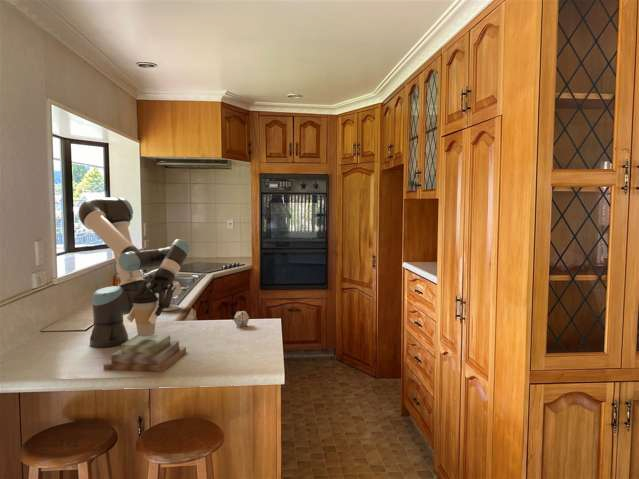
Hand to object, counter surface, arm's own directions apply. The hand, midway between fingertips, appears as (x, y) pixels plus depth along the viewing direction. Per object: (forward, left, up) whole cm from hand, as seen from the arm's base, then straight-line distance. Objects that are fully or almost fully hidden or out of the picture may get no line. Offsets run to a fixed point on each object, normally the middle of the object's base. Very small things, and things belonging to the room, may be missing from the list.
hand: (140, 321), depth 173 cm
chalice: (-27, +84, -16) cm, 90 cm away
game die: (+24, +53, -16) cm, 60 cm away
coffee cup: (+1, +3, -6) cm, 7 cm away
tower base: (+1, +3, -16) cm, 16 cm away
